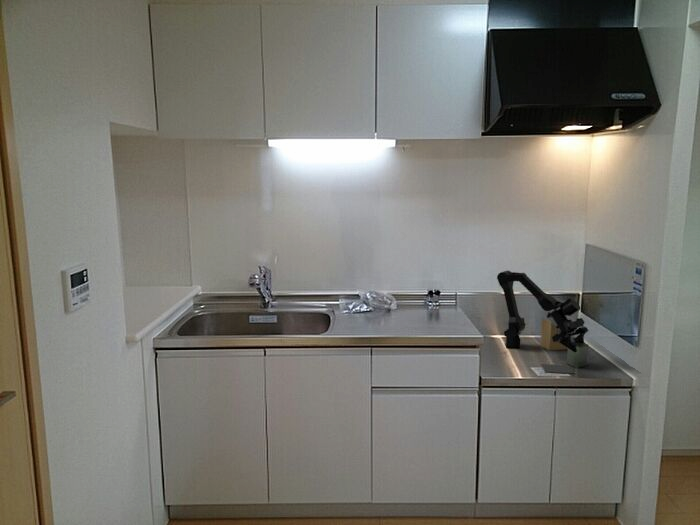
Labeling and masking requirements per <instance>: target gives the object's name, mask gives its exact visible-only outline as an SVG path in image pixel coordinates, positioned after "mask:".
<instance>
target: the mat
mask: <svg viewBox="0 0 700 525" xmlns="http://www.w3.org/2000/svg"><path fill="white" fill-rule="evenodd" d="M540 366H541V367H542V369H543V371H544V373H549V374H563V375H574V374H575V373H574V371H573V369H572V368H571V367H570V365H569V364H567V365H566V364H550V363H549V364H547V363H541V364H540Z"/></svg>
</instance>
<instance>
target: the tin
mask: <svg viewBox="0 0 700 525" xmlns="http://www.w3.org/2000/svg"><path fill="white" fill-rule="evenodd" d="M571 342H572V343H573V345H574V347H575V349H576V352H573V351H572V350H570V349H569V348H568V349H567V354H566V364H567V365H568V366H571V367H575V368H577V369H579V368H582V367H585V366H587V364H588V355H589V354H588V353H589V344H588V343H586V342H584V343H582V342H579V341H574V340H573V341H571Z"/></svg>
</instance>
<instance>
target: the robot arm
mask: <svg viewBox="0 0 700 525" xmlns="http://www.w3.org/2000/svg"><path fill="white" fill-rule="evenodd" d="M496 280H497V282H498V285H499V286H500V287H501V289H502V291H503V294H504V295H503V296H504V299H505V303H506V308H507V312H508V323H507V324H508V328H507V329H506V330H505V331H503V334H504V336H505V343H504V346H505V348H506V349H517V350H519V349H520V347H521V338H520V335H522V334H521V333H522V332H523V331H524V330H525V329H526V326H527V325H526V322H525V318H524V317H521V316H520V314H519V310H518V305H517V302H516V297H515V292H514V283H515V282H519V283H520V284H521V285H522V286H523V287H524V288H525V289H526V290H527V291H528V292H529V293H530V294H531V295H532V296H534V298H535V300H537V302H538V305H539V306H540V307H541V309H542V311H545V312H547V315H546V319H548V318H549V319H551V318H552V320H553V322H554V323H555V327H556V328H557V329H558V330H559V331H560V332H557V333H556V334H555V335H554V336H552V340H553V342H554V343H555V342H558V341H559V339H560V342H559V343H561V344H562V345H564V346H566V347H567V348H569V349H570V350H572V351H573V352H576V349H575V347H574V345H573V343H572V342H574V341H579V342H582V343H585V339H584V337H585V335H586V333H588V332H589V328H588V327H586V326H584V325H585V320H584V319H583V318H582V317H579V318H578V317H577V318H576V320H575V321H573V320H572V319H569V318H568V317H567V316H569V317H571V316H573V315H574V314H575V313H577V312H579V311H580V310H581V306H580V305H579V303H578V302H577V301H575V300H574V299H572V297H569V298H568V299H567V300H565V301H564V302H561V301H559V300H557V299H556V298H555V297H553V295H550V294H548V293H547V292H545V291H543V290H542V289H541V288H540V286H538V285H537V284H536V283H535V282H534V281H533V280H532V279H531V278H530V277H529V276H528V275H527V274H526V273H525V272H515V271H513V272H512V271H511V270H504V271H501V272H499V273H498V274H497V275H496ZM572 337H573V339H571V338H572ZM572 340H573V341H572Z"/></svg>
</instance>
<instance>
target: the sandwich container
mask: <svg viewBox="0 0 700 525" xmlns="http://www.w3.org/2000/svg"><path fill="white" fill-rule="evenodd" d="M540 329H541V331H540V346H541V347H543V348H544V349H546V350H548V351H563V350H568V348H567V347H566V346H564V345H562V344H561V343H559V342H560V339H559V341H558V342H555V343H554V342H553V340H552V336H554V335H555V334H556V333H557V332H561V331H560V329H559V328H558V329H557V328H556V324H554V323H553V322H552V321H550V320H549V319H548V318H545V317H542V318H541V328H540Z"/></svg>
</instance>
